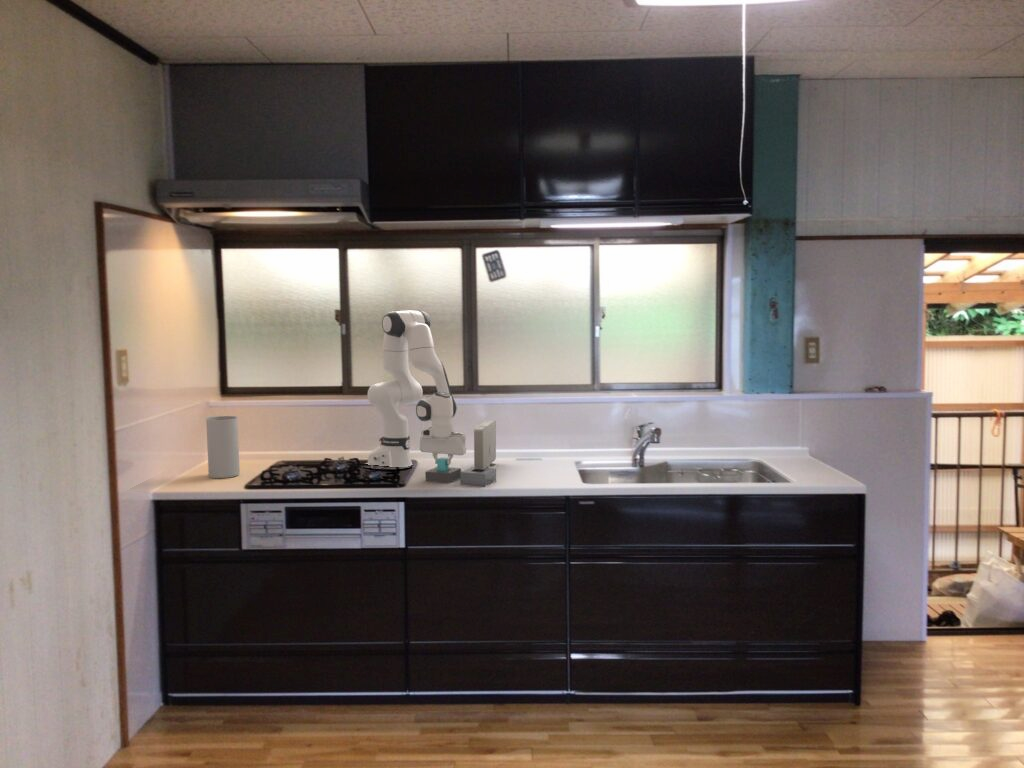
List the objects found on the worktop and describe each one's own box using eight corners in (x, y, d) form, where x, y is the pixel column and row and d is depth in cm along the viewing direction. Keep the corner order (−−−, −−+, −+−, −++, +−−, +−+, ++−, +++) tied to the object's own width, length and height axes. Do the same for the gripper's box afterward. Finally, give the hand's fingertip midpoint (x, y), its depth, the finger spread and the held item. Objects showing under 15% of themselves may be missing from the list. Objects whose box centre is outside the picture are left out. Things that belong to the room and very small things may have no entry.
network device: (488, 475, 329) (487, 428, 327) (468, 474, 330) (467, 428, 328) (500, 463, 354) (500, 420, 352) (482, 462, 355) (481, 419, 353)
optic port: (460, 484, 312) (460, 472, 311) (471, 478, 322) (471, 466, 321) (485, 486, 308) (485, 474, 307) (495, 480, 318) (495, 468, 317)
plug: (437, 477, 320) (437, 458, 319) (441, 476, 323) (441, 457, 322) (444, 478, 319) (444, 459, 318) (448, 476, 322) (448, 458, 321)
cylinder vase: (216, 480, 321) (214, 421, 318) (203, 475, 330) (201, 418, 327) (245, 475, 330) (242, 417, 327) (231, 471, 338) (229, 415, 336)
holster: (425, 481, 318) (425, 471, 317) (437, 475, 328) (437, 466, 327) (449, 483, 314) (449, 473, 313) (461, 477, 324) (460, 468, 323)
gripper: (468, 431, 318) (468, 464, 319) (424, 428, 325) (425, 460, 327) (462, 434, 312) (462, 467, 314) (417, 430, 320) (417, 463, 321)
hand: (442, 464), depth 320 cm, fingers closed on plug, 3 cm apart
